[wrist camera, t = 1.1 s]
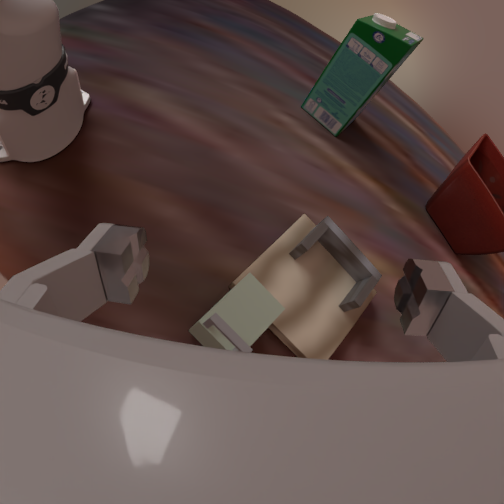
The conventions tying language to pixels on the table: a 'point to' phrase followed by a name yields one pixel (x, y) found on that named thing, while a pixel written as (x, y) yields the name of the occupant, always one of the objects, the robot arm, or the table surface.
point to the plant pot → (473, 202)
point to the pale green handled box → (238, 317)
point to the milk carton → (359, 70)
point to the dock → (315, 286)
